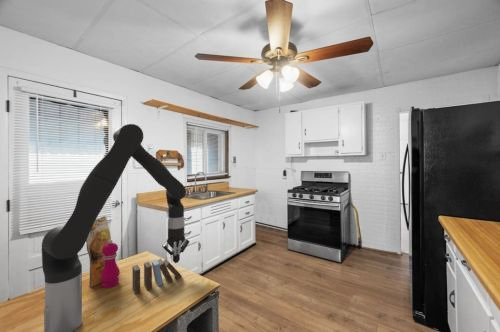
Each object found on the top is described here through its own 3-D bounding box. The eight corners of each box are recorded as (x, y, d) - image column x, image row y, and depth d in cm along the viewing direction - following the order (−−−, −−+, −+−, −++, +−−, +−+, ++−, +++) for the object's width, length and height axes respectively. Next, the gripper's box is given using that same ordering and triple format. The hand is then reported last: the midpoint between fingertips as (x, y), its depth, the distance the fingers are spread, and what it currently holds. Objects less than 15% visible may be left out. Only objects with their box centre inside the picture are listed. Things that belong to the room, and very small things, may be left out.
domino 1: (135, 294, 89) (134, 270, 89) (132, 289, 93) (132, 266, 93) (140, 292, 90) (140, 269, 90) (137, 287, 94) (137, 264, 94)
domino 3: (158, 286, 95) (154, 265, 94) (155, 281, 99) (151, 261, 98) (163, 284, 96) (159, 263, 95) (159, 279, 100) (156, 259, 99)
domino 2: (147, 290, 92) (146, 267, 92) (144, 285, 96) (144, 263, 96) (152, 288, 93) (151, 265, 93) (148, 283, 97) (148, 261, 97)
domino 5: (178, 279, 101) (165, 266, 97) (174, 275, 105) (162, 262, 101) (182, 275, 102) (169, 262, 98) (178, 271, 106) (165, 258, 102)
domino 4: (168, 282, 98) (159, 265, 95) (165, 278, 102) (156, 261, 99) (172, 279, 99) (164, 262, 96) (169, 275, 103) (160, 258, 100)
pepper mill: (118, 286, 95) (117, 241, 95) (98, 290, 92) (98, 243, 92) (121, 278, 102) (120, 236, 101) (103, 281, 99) (102, 238, 99)
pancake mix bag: (78, 290, 92) (77, 225, 92) (105, 268, 111) (105, 214, 111) (94, 289, 93) (93, 224, 92) (119, 268, 112) (118, 214, 111)
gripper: (186, 221, 109) (186, 255, 109) (159, 226, 101) (159, 263, 101) (192, 225, 103) (192, 261, 104) (164, 230, 95) (164, 269, 95)
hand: (176, 262), depth 102 cm, fingers closed
